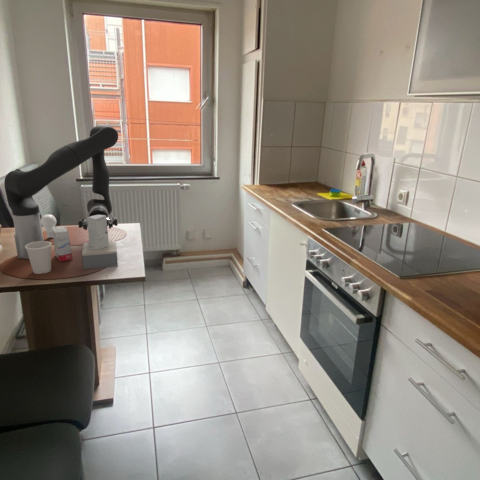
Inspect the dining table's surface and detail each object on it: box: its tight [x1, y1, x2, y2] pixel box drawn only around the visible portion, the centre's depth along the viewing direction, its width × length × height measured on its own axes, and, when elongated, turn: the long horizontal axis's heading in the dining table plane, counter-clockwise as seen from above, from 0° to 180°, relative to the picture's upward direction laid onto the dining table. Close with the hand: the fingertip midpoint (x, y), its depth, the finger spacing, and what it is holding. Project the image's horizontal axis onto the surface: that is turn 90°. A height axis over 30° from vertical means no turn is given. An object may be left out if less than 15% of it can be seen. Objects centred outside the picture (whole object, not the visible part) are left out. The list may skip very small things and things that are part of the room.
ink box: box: [52, 225, 73, 262], centre depth 148 cm, size 9×5×12 cm, turn 33°
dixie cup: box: [25, 240, 52, 275], centre depth 135 cm, size 8×8×10 cm
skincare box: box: [86, 214, 110, 250], centre depth 143 cm, size 6×4×12 cm
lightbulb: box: [40, 213, 57, 239], centre depth 170 cm, size 6×6×11 cm
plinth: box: [81, 240, 119, 270], centre depth 146 cm, size 12×12×6 cm
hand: (97, 226), depth 143 cm, fingers open, 8 cm apart
